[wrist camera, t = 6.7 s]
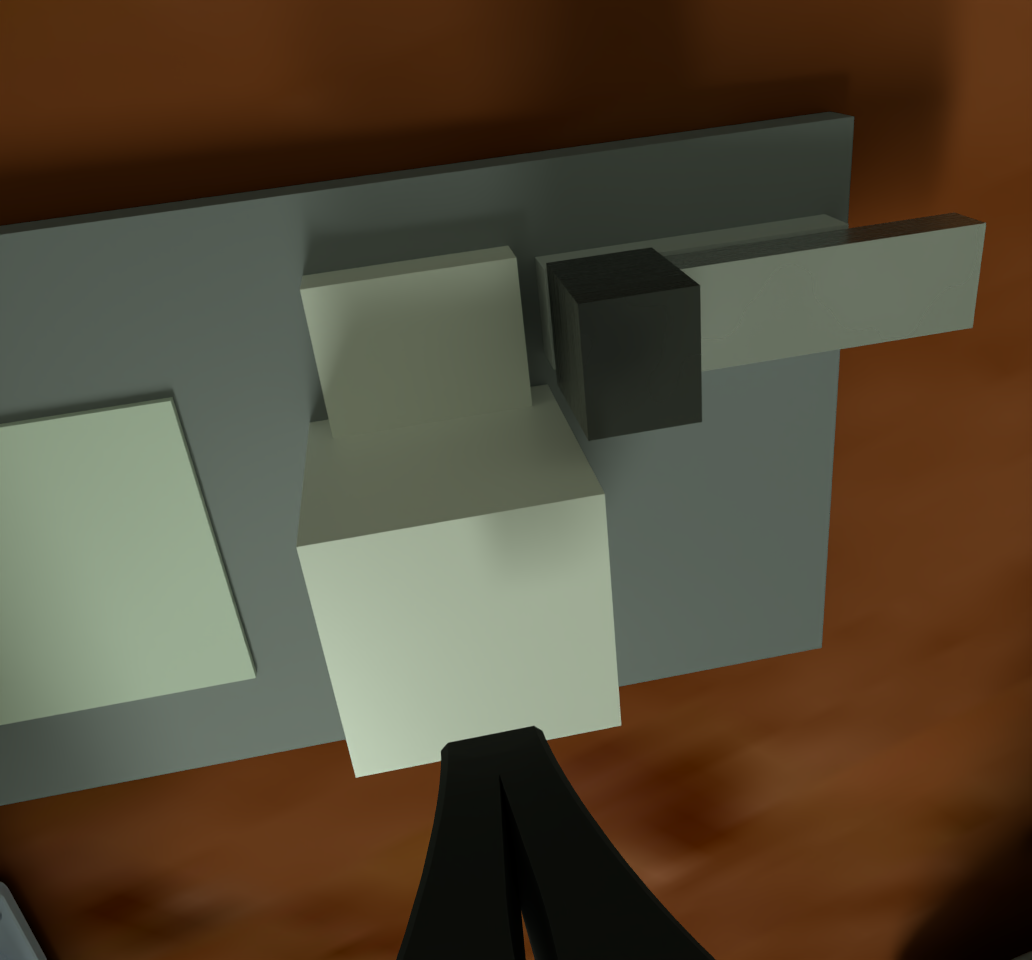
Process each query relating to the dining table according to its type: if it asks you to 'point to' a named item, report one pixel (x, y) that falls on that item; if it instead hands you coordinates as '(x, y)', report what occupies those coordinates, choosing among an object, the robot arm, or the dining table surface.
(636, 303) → the bolt
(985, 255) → the dining table surface
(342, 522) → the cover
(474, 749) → the robot arm
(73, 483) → the housing plate
